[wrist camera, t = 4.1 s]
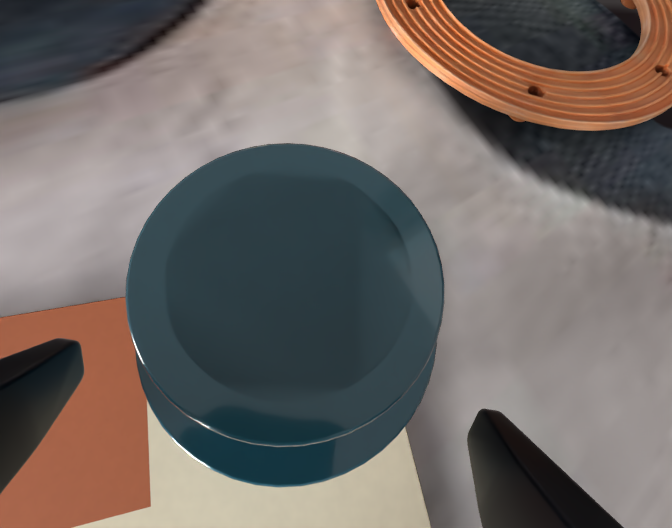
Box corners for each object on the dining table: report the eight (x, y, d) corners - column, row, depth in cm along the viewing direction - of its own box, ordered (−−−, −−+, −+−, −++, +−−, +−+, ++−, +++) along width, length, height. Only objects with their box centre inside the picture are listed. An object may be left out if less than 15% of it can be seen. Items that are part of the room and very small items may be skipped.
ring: (350, 109, 23) (356, 77, 21) (381, -103, 32) (388, -141, 30) (708, 176, 24) (751, 154, 22) (641, -45, 33) (666, -77, 31)
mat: (489, 762, 13) (495, 773, 12) (-186, 1075, 9) (-207, 1105, 9) (360, 260, 19) (362, 257, 19) (-68, 331, 16) (-77, 329, 15)
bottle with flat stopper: (371, 413, 16) (593, 467, 4) (234, 447, 15) (8, 652, 3) (342, 286, 18) (437, 78, 6) (219, 308, 17) (46, 107, 5)
